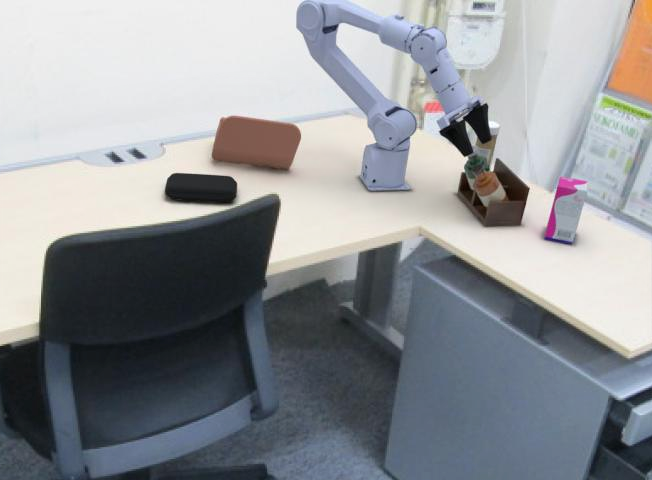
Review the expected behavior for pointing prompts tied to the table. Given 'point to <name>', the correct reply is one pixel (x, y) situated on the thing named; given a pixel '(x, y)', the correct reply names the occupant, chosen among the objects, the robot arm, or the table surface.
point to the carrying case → (201, 187)
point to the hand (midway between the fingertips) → (478, 148)
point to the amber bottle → (488, 186)
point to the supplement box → (566, 210)
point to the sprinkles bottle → (489, 143)
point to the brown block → (256, 142)
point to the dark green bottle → (471, 162)
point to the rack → (498, 210)
